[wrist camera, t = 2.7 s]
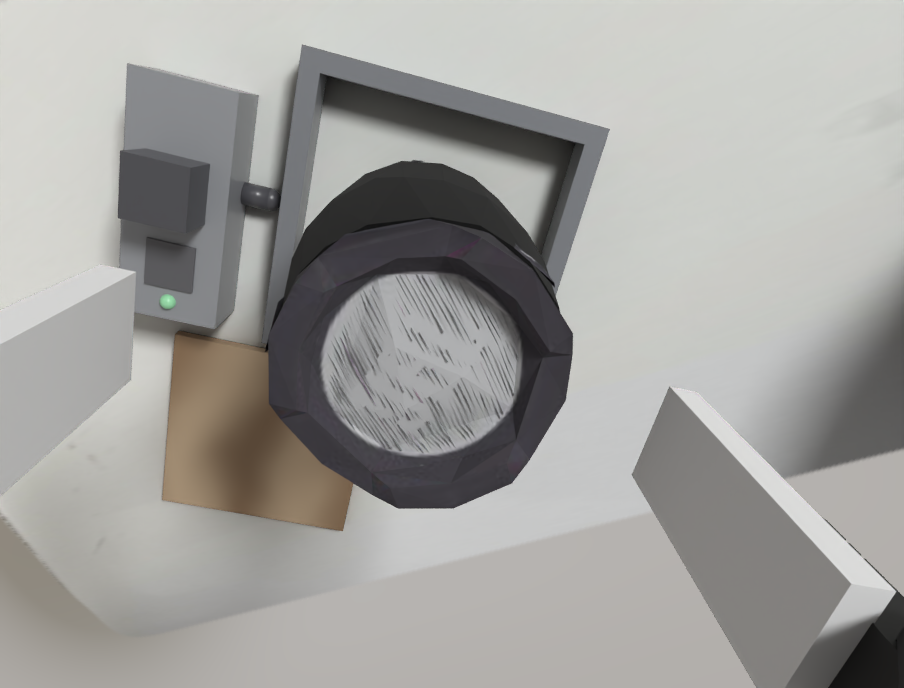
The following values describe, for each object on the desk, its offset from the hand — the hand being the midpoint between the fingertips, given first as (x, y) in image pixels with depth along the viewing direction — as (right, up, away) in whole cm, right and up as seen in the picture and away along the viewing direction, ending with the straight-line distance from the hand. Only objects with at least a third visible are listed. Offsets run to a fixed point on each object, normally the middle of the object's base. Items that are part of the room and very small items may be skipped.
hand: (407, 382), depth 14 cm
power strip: (-13, +9, +17) cm, 23 cm away
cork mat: (-11, -5, +23) cm, 26 cm away
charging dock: (-2, +7, +18) cm, 20 cm away
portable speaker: (0, +7, +18) cm, 20 cm away
